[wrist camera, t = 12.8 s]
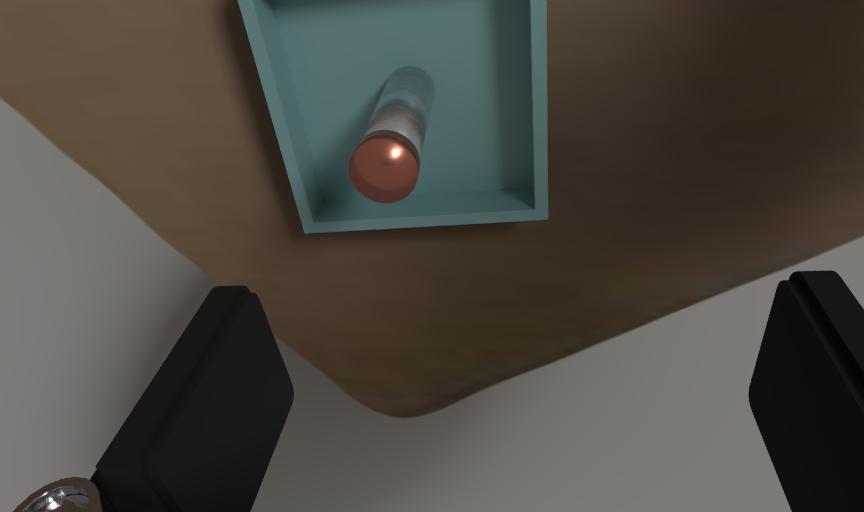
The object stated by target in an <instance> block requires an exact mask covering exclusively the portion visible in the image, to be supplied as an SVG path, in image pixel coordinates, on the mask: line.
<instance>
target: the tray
mask: <svg viewBox="0 0 864 512" xmlns="http://www.w3.org/2000/svg"><path fill="white" fill-rule="evenodd" d="M238 4H239V7H240V10H241V14H242V17H243V21H244V24H245V28H246V31H247V35H248V38H249V42H250V45H251V49H252V52H253V56H254V59H255V63H256V66H257V70H258V73H259V77H260V80H261V84H262V87H263V91H264V94H265V97H266V101H267V104H268V108H269V111H270V115H271V118H272V122H273V125H274V129H275V132H276V136H277V139H278V143H279V146H280V150H281V153H282V157H283V160H284V164H285V167H286V171H287V174H288V178H289V181H290V185H291V188H292V191H293V195H294V198H295V202H296V205H297V209H298V212H299V216H300V219H301V223H302V226H303V230H304V233H323V232H340V231H358V230H376V229H393V228H411V227H428V226H446V225H464V224H481V223H499V222H516V221H534V220H548V123H547V2H546V0H238ZM405 66H414V67H418V68H420V69H422V70H424V71H425V72H426V73H427V74H428V75H429V76H430V77H431V79H432V81H433V83H434V87H435V95H434V100H433V104H432V108H431V113H430V117H429V121H428V126H427V130H426V134H425V139H424V143H423V147H422V152H421V156H420V170H419V174H418V179H417V183H416V186H415V188H414V189H413V191H412V192H411V193H410V194H409V195H408V196H407V197H406V198H404V199H402V200H400V201H398V202H394V203H378V202H374V201H372V200H369V199H367V198H366V197H364V196H363V195H361V194H360V193H359V192H358V191H357V190H356V188H355V187H354V186H353V184H352V182H351V180H350V176H349V162H350V159H351V157H352V154H353V152H354V150H355V148H356V146H357V144H358V142H359V141H360V140H361V139H362V137H363V135H364V133H365V131H366V128H367V126H368V124H369V122H370V119H371V117H372V115H373V113H374V110H375V108H376V106H377V103H378V101H379V99H380V97H381V94H382V92H383V90H384V88H385V85H386V83H387V81H388V79H389V77H390V75H391V74H392V73H393V72H394V71H395V70H397V69H399V68H401V67H405Z"/></svg>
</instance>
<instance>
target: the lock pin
mask: <svg viewBox="0 0 864 512" xmlns="http://www.w3.org/2000/svg"><path fill="white" fill-rule="evenodd" d="M434 95H435V87H434V83H433V81H432V79H431V77H430V76H429V75H428V74H427V73H426V72H425V71H424V70H422V69H420V68H418V67H414V66H405V67H401V68H399V69H397V70H395V71H394V72H393V73H392V74H391V75H390V77H389V79H388V81H387V83H386V85H385V88H384V90H383V92H382V94H381V97H380V99H379V101H378V103H377V106H376V108H375V110H374V113H373V115H372V117H371V119H370V122H369V124H368V126H367V128H366V131H365V133H364V135H363V137H362V139H361V140H360V141H359V142H358V144H357V146H356V148H355V150H354V152H353V154H352V157H351V159H350V162H349V176H350V180H351V182H352V184H353V186H354V187H355V188H356V190H357V191H358V192H359V193H360V194H361V195H363V196H364V197H366V198H367V199H369V200H372V201H374V202H378V203H394V202H398V201H400V200H402V199H404V198H406V197H407V196H408V195H409V194H410V193H411V192H412V191H413V189H414V188H415V186H416V183H417V179H418V174H419V170H420V156H421V152H422V147H423V143H424V139H425V134H426V130H427V126H428V121H429V117H430V113H431V108H432V104H433V100H434Z"/></svg>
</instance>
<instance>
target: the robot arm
mask: <svg viewBox="0 0 864 512" xmlns="http://www.w3.org/2000/svg"><path fill="white" fill-rule="evenodd" d="M293 397H294V391H293V385H292V382H291V380H290V377H289V374H288V372H287V369H286V367H285V364H284V361H283V359H282V356H281V354H280V351H279V349H278V346H277V343H276V341H275V338H274V336H273V333H272V331H271V328H270V325H269V323H268V320H267V318H266V315H265V312H264V310H263V307H262V305H261V302H260V300H259V297H258V296H257V294H255V293H251V292H250V290H249V289H248V288H247V287H246V286H217V287H214V288H213V289H212V290H211V291H210V293H209V294H208V296H207V297H206V299H205V300H204V302H203V303H202V305H201V307H200V308H199V309H198V311H197V313H196V314H195V316H194V317H193V319H192V320H191V322H190V323H189V325H188V326H187V328H186V330H185V331H184V332H183V334H182V335H181V337H180V338H179V340H178V341H177V343H176V345H175V346H174V348H173V349H172V351H171V352H170V354H169V355H168V357H167V358H166V360H165V361H164V363H163V364H162V366H161V367H160V369H159V371H158V372H157V373H156V375H155V377H154V378H153V380H152V381H151V383H150V384H149V386H148V387H147V389H146V390H145V392H144V393H143V395H142V396H141V398H140V400H139V401H138V402H137V404H136V406H135V407H134V409H133V410H132V412H131V413H130V415H129V416H128V418H127V419H126V421H125V422H124V424H123V425H122V427H121V429H120V430H119V431H118V433H117V435H116V436H115V438H114V439H113V441H112V442H111V444H110V445H109V447H108V448H107V450H106V451H105V453H104V454H103V456H102V458H101V459H100V460H99V462H98V464H97V465H96V468H97V470H96V471H95V473H94V474H93V476H92V477H91V479H90V480H88V479H86V478H79V477H71V478H65V479H60V480H58V481H55V482H53V483H50V484H48V485H46V486H44V487H42V488H41V489H39V490H38V491H36V492H34V493H33V494H31V495H30V496H29V497H28V498H26V500H24V501H23V502H22V503H21V504H20V505H19V506H17V508H16V509H15V510H14V511H13V512H250V511H251V509H252V506H253V503H254V501H255V498H256V496H257V493H258V491H259V488H260V486H261V483H262V480H263V478H264V475H265V472H266V470H267V467H268V465H269V462H270V460H271V457H272V455H273V452H274V449H275V447H276V444H277V442H278V439H279V437H280V434H281V431H282V429H283V426H284V424H285V421H286V419H287V416H288V413H289V411H290V408H291V405H292V402H293ZM749 402H750V407H751V410H752V413H753V415H754V417H755V420H756V422H757V425H758V427H759V430H760V433H761V435H762V438H763V440H764V443H765V445H766V447H767V450H768V453H769V455H770V458H771V460H772V463H773V465H774V468H775V470H776V473H777V475H778V478H779V481H780V483H781V485H782V488H783V491H784V493H785V496H786V498H787V501H788V503H789V506H790V508H791V511H792V512H864V309H863V308H862V306H861V305H860V304H859V303H858V301H857V300H856V298H855V297H854V295H853V294H852V292H851V291H850V290H849V288H848V287H847V285H846V284H845V283H844V281H843V280H842V278H841V277H840V276H839V275H838V274H837V273H836V272H834V271H798V272H793V273H792V274H791V276H790V278H789V280H783V281H780V282H779V284H778V287H777V289H776V293H775V297H774V300H773V304H772V308H771V311H770V315H769V318H768V322H767V325H766V329H765V333H764V336H763V340H762V343H761V347H760V351H759V354H758V358H757V362H756V365H755V369H754V372H753V376H752V379H751V383H750V387H749Z"/></svg>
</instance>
